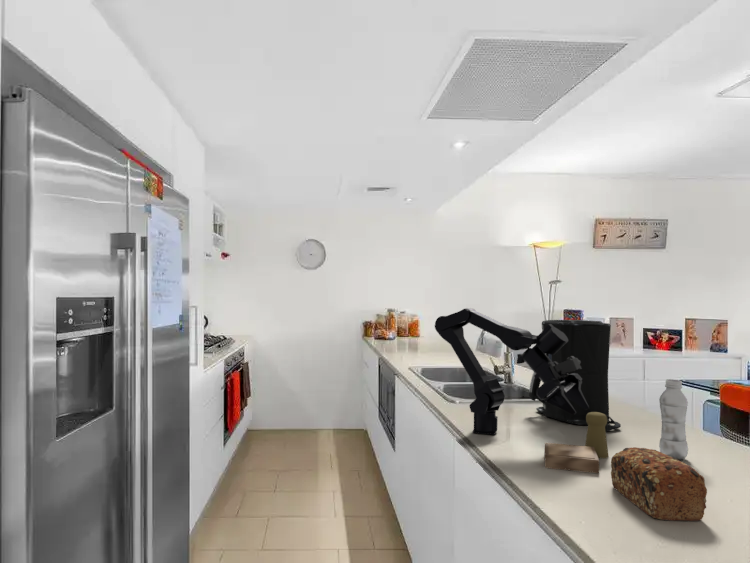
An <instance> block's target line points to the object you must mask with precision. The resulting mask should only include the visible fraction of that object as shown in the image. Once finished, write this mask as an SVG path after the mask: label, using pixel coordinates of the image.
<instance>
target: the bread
mask: <svg viewBox="0 0 750 563" xmlns="http://www.w3.org/2000/svg"><path fill="white" fill-rule="evenodd" d="M610 467H611V471H610V478H611V484H612V487H613V489H615V490H616V489H617V490H616V491H617V492H619V494H621V495H623V497H624V498H625V499H627V500H628V501H629V502H631V503H632V504H634V506H637V507H638V509H640V510H641V511H642V512H643V513H644V514H646V515H648V516H650V517H652V518H653V519H657V520H662V521H681V522H682V521H683V522H698V521H699V522H700V521H702V519H703V518H704V515H705V509H707V504H706V503H707V494H708V489H707V487H706V482H705V477H704V476H703V475H701V474H700V473H699V472H698V471H697V470H696V469H695V468H694V467H691V465H688V464H686V463H685V462H683V461H680V459H675V458H673V457H671V456H668V455H666V454H663V453H661V452H660V450H656V449H653V448H650V449H649V448H645V447H625V448H623V449H622V450H621V451H619V452H616V453H615V454H614V455H613V456H612V458H611V461H610Z"/></svg>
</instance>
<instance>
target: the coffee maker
mask: <svg viewBox="0 0 750 563" xmlns="http://www.w3.org/2000/svg"><path fill="white" fill-rule="evenodd" d="M550 324H552V325H553V326H554V327H555V328H557V329H559V330H560V331H561V332H563V333H564V334H565V335H566V336H567V338H568V342H567V343H566V344H565V345H564V346H563V347H562V348H561V349H559V350H558V351H557V352H556V353H555V354H554V355H551V354H549V355H547V354H546V355H547V356H548V357H549V359H550V360H551V361H552V362H554V361H555V362H557V363H558V364H559V363H562V362H564V361H566V360H567V358H569V357H571V356H574V357H575V358H578V360H580V361H581V363H580V366H581V368H582V369H580V370H575V371H572V372H569V373H568V374H573V373H575V374H579V375H580V377H581V378H582V380H581V381H582V383H581V391H582V393H583V395H584V398H585V400H586V402H587V404H588V406H589V408H588V409H587V410H586V409H584V408H582V407H581V406H579V405H578V404H576V403H575V402H573V401H572V400H570V399H569V398H567V399H568V400H569V402H570V403H571V405H572V406H573V408H574V409H575V411H576V413H575V414H574V415H572V414H570V413H568V412H566V411H564V410H562V409H561V408H559V407H557V406H554V405H552V404H550V403H548V402H545V401H544V400H545V399H544V400H540V399H539V397H538V396H537V395H536V390H537V389H538V388H539V387H540V386H541V382H542V381H541V380H540V378H538V379H536V378H535V377H534V375H536V374H535V373H534V372H532V374H531V375H532V376H531V379H530V384H529V389H528V390H529V391H528V396H529V399H530V400H531V401H534V402H535V401H536V400H537V401H539V402H541V403H542V406H538V407H535V409H536V411H537V412H539V413H541V414H543V415H545V417H546V418H551V419H555V420H557V421H561V422H566V423H569V424H575V425H579V426H581V425H582V426H588V424H587V422H586V415H587V414H588V413H590V412H599V413H603V414H605V415H606V417H607V424H606V426H605V432H606V433H607V432H610V431H613V430H617V429H620V428H621V426H622V425H621V423H620V422H618V421H615V420H614V419H613V418H612V417H611V416H610V405H609V403H610V402H609V400H610V399H609V366H610V364H609V362H610V361H609V360H610V344H611V342H610V340H611V327H612V326H611V323H606V322H603V321H601V320H587V319H586V320H585V319H583V320H582V319H546V320H542V322H541V332H542V331H543V330H544V329H545V327H546V326H547V325H550ZM564 394H565V393H564ZM546 398H547V396H546Z"/></svg>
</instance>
